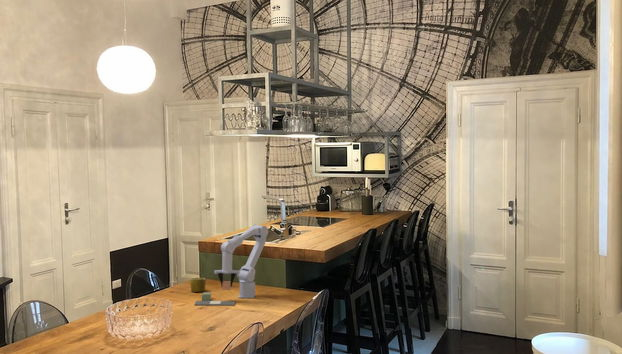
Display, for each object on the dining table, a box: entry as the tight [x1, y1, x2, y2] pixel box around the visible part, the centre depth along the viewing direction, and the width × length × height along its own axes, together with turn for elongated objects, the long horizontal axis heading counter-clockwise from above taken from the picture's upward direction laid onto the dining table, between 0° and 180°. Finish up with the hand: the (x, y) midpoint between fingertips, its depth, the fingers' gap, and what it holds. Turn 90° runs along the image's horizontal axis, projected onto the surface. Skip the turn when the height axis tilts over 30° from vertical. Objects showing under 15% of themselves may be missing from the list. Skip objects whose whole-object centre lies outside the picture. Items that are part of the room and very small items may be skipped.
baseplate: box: [194, 300, 236, 307], centre depth 288 cm, size 22×8×1 cm, turn 94°
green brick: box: [201, 291, 212, 301], centre depth 295 cm, size 5×5×4 cm
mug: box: [190, 277, 207, 293], centre depth 317 cm, size 12×10×10 cm
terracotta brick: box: [221, 280, 232, 291], centre depth 296 cm, size 5×5×4 cm
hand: (226, 286), depth 296 cm, fingers closed on terracotta brick, 5 cm apart
